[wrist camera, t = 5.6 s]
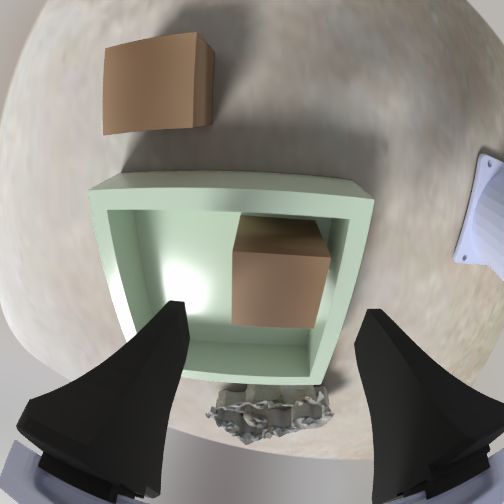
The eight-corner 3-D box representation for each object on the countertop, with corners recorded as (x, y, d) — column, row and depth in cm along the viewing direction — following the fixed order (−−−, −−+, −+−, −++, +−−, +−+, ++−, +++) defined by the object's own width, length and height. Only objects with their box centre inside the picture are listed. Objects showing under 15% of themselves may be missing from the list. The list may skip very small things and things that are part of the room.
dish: (351, 179, 14) (374, 199, 11) (315, 348, 20) (320, 384, 17) (120, 172, 14) (87, 190, 11) (151, 336, 20) (138, 369, 17)
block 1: (214, 52, 11) (196, 31, 7) (212, 124, 13) (192, 127, 9) (142, 60, 11) (105, 48, 7) (141, 127, 13) (103, 135, 9)
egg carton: (306, 357, 21) (311, 398, 17) (334, 394, 24) (340, 428, 20) (204, 389, 24) (197, 424, 20) (245, 419, 27) (243, 450, 23)
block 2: (315, 220, 14) (330, 257, 11) (304, 282, 16) (313, 328, 13) (240, 215, 14) (232, 251, 11) (238, 278, 16) (231, 324, 13)
